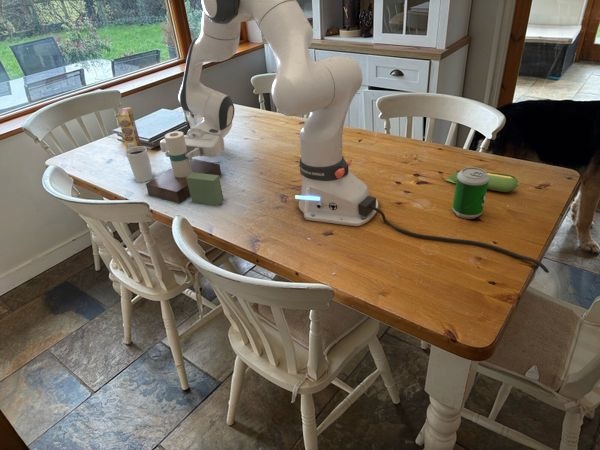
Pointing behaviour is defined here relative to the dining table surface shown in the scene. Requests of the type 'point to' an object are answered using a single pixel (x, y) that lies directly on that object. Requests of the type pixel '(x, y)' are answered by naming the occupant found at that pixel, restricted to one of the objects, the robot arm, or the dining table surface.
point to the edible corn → (495, 181)
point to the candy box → (128, 128)
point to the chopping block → (179, 182)
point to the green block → (205, 188)
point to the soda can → (470, 192)
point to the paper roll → (178, 154)
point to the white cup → (140, 163)
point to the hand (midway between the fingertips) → (177, 155)
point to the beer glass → (191, 119)
